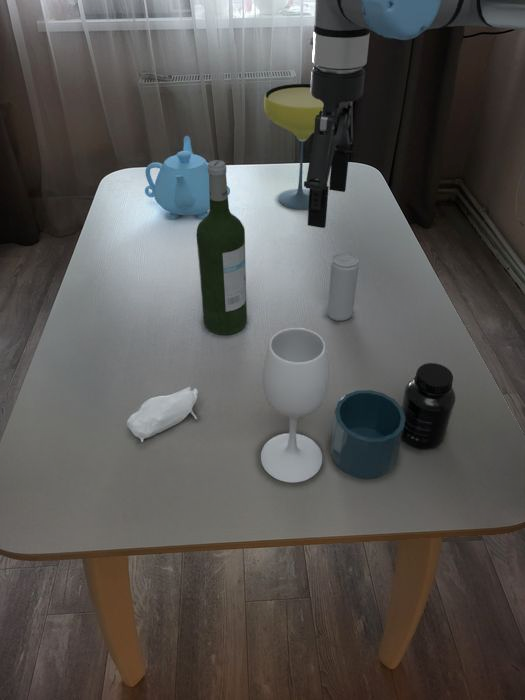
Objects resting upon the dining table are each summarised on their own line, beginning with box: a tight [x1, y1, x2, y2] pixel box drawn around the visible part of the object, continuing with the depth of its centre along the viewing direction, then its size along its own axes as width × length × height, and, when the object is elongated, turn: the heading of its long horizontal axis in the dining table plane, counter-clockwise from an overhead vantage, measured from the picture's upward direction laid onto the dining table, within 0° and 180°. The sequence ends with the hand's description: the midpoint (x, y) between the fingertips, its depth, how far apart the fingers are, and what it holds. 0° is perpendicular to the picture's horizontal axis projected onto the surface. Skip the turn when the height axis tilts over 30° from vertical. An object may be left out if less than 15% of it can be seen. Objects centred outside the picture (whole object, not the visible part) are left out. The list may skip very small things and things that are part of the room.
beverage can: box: [326, 252, 360, 322], centre depth 100 cm, size 5×5×12 cm
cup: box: [330, 389, 406, 480], centre depth 77 cm, size 9×9×8 cm
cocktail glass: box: [263, 83, 323, 210], centre depth 132 cm, size 18×18×25 cm
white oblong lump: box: [126, 386, 199, 443], centre depth 82 cm, size 5×7×10 cm
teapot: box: [144, 135, 231, 220], centre depth 132 cm, size 16×20×14 cm
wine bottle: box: [195, 159, 248, 336], centre depth 92 cm, size 8×8×30 cm
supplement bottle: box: [400, 362, 456, 450], centre depth 78 cm, size 7×7×12 cm
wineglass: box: [260, 327, 330, 484], centre depth 72 cm, size 9×9×21 cm
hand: (327, 207), depth 92 cm, fingers open, 13 cm apart
